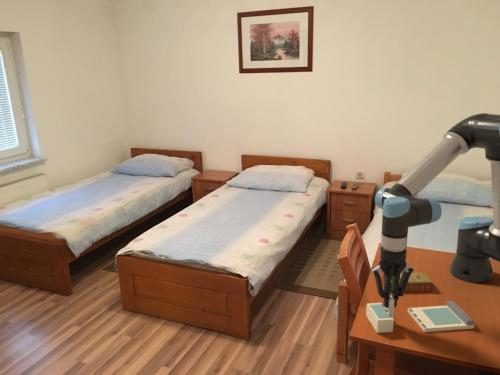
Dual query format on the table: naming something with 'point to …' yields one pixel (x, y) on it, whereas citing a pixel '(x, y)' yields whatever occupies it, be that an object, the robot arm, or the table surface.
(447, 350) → the table surface
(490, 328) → the table surface
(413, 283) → the carton
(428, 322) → the cream teal-inset panel
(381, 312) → the stub
